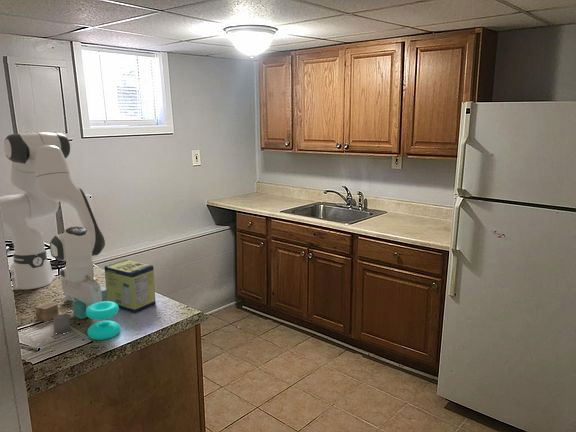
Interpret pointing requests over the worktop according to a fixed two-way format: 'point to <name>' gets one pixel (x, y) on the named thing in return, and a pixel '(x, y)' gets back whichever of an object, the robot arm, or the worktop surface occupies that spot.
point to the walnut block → (46, 311)
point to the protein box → (130, 285)
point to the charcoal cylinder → (62, 323)
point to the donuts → (103, 327)
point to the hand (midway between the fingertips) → (83, 310)
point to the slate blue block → (103, 293)
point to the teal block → (79, 309)
